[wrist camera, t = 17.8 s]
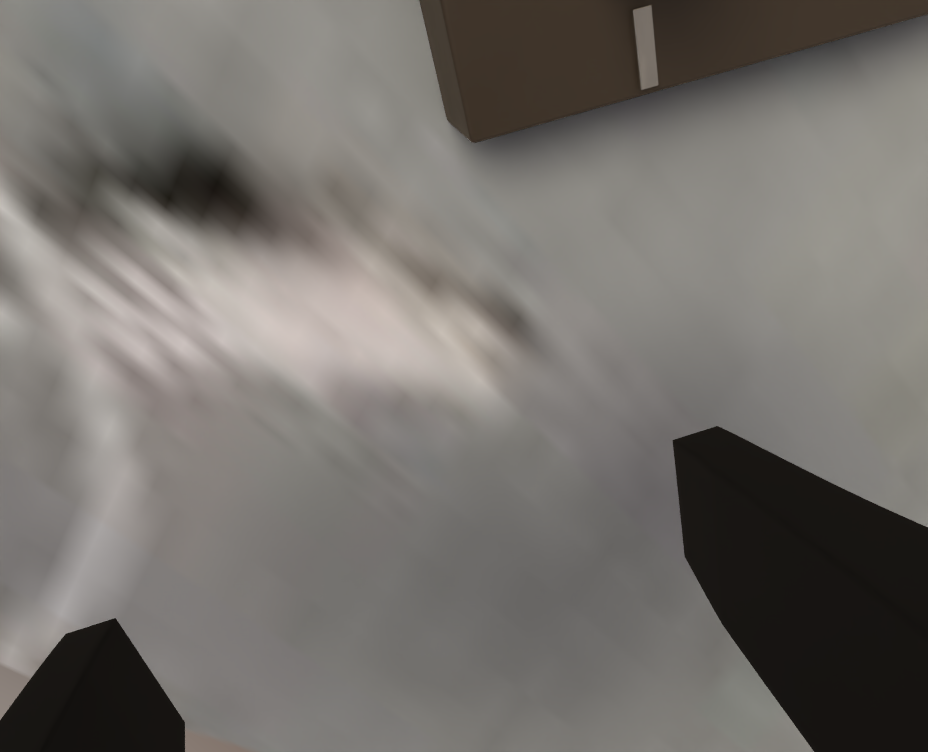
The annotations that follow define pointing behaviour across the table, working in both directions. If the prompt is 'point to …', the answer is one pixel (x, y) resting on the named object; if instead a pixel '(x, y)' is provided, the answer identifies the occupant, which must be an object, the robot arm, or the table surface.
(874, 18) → the dial box
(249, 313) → the table surface
